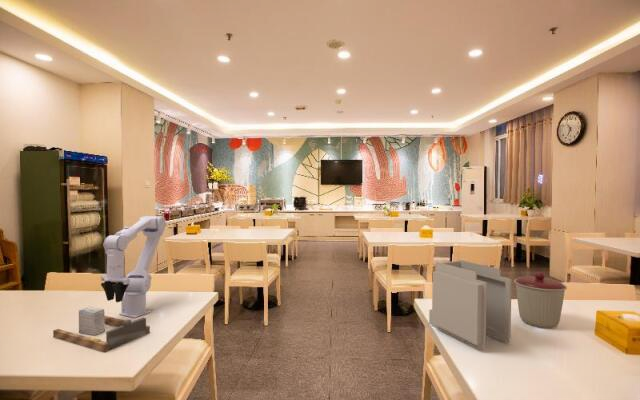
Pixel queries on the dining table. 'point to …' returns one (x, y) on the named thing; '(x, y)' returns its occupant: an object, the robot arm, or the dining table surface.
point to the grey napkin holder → (471, 302)
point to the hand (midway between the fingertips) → (114, 300)
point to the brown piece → (108, 334)
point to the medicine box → (91, 320)
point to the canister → (540, 300)
